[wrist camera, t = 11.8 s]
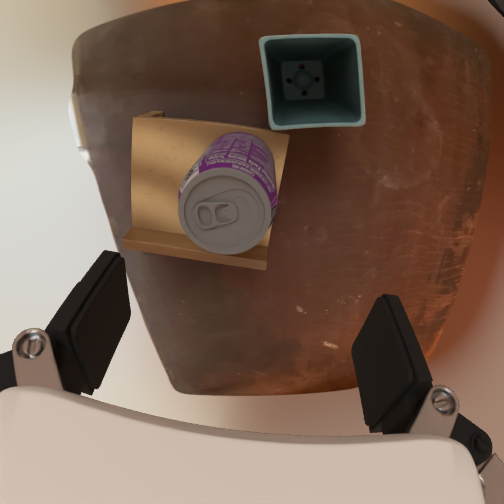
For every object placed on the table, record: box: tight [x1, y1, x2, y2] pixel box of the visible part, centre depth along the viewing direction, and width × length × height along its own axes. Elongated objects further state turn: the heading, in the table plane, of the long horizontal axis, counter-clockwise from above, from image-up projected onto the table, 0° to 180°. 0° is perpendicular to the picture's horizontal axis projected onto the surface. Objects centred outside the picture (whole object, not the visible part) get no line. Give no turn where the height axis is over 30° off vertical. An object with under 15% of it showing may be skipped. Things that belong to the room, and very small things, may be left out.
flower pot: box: [259, 34, 366, 131], centre depth 27 cm, size 9×9×9 cm
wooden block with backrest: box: [123, 111, 290, 270], centre depth 33 cm, size 14×16×9 cm
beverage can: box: [178, 132, 278, 255], centre depth 25 cm, size 7×7×12 cm
